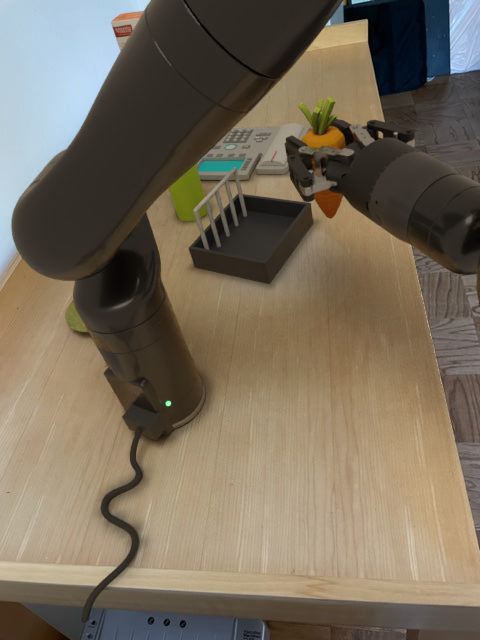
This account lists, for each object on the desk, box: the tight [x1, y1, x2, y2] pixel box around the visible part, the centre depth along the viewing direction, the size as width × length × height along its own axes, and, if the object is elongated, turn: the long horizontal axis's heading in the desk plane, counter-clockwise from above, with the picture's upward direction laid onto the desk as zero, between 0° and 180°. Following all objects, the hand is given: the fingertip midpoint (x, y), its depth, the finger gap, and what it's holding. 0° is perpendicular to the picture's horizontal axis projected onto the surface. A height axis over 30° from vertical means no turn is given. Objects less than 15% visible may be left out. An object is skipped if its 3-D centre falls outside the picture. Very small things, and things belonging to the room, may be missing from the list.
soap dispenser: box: [168, 164, 208, 223], centre depth 92 cm, size 6×7×20 cm
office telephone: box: [196, 122, 312, 181], centre depth 111 cm, size 23×3×20 cm
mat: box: [64, 300, 89, 333], centre depth 83 cm, size 11×11×2 cm
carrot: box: [298, 96, 346, 220], centre depth 61 cm, size 5×5×15 cm
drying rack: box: [188, 167, 314, 285], centre depth 85 cm, size 16×14×10 cm
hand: (310, 135), depth 61 cm, fingers closed on carrot, 5 cm apart
